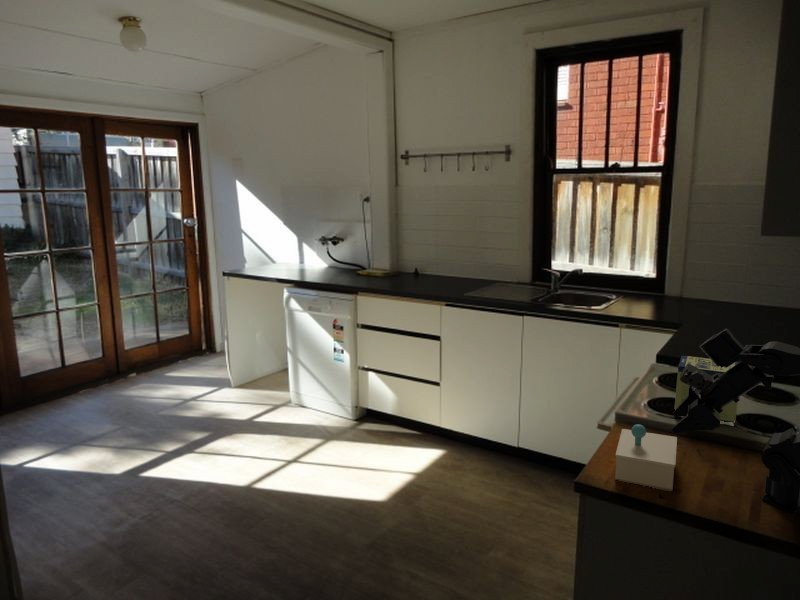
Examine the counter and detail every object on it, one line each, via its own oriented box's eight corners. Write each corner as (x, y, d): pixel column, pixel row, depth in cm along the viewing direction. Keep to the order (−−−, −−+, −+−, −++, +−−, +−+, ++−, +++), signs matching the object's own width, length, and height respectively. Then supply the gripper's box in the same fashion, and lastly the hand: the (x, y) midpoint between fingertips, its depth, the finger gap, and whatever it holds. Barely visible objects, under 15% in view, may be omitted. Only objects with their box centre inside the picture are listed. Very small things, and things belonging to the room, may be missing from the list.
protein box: (736, 427, 159) (741, 373, 155) (673, 417, 166) (677, 365, 163) (735, 413, 168) (741, 361, 164) (676, 404, 175) (680, 354, 172)
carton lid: (676, 439, 140) (678, 418, 139) (675, 467, 128) (676, 444, 127) (622, 430, 146) (623, 410, 145) (615, 456, 133) (616, 434, 132)
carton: (674, 462, 142) (675, 440, 140) (672, 491, 130) (674, 467, 128) (621, 453, 147) (622, 431, 146) (615, 480, 135) (616, 457, 133)
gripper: (705, 343, 135) (650, 382, 142) (706, 369, 119) (644, 411, 126) (741, 379, 133) (683, 417, 141) (747, 411, 117) (682, 451, 124)
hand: (673, 422), depth 133 cm, fingers open, 9 cm apart
